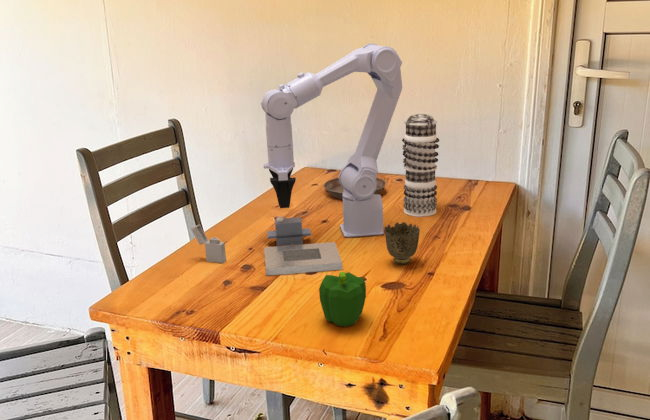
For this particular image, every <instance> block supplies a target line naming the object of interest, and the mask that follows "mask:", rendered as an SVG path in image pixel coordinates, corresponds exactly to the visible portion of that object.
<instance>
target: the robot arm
mask: <svg viewBox="0 0 650 420" xmlns="http://www.w3.org/2000/svg"><path fill="white" fill-rule="evenodd" d="M402 63H403V61H402V60H401V58H400V56H399V54H398V53H397V51H396V50H395V49H394V48H393V47H391V46H387V45H380V44H379V45H378V44H376V43H367V44H365V45H363V46H362V47H359V48H356V49H354V50H353V51H350V53H348V54H347V55H345V56H343V57H342V58H340V59H338V60H337V61H336V60H335V62H333V63H331V64H330V65H329V66H327V67H325V68H323V69H322V70H320V71H319V72H317V73H312V72H309V71H308V72H303V71H301V72H299V73H297V77H296V78H295V79H292V80H290V81H289V82H287V83H285V84H283V83H281V84H279V85H278V89H275V88H274V89H270V90H268V91H266V93H265V94H264V96H263V97H262V101H261V102H260V106H261V108H262V110H263V111H264V112H265V132H266V133H265V134H266V146H267V147H266V148H267V160H268V163H263V164H262V165H263V169H268V171H269V173H270V175H271V177H269V182H270V184H271V185H272V187H273V189H274V192H275V194H276V198H277V202H278V206H279V208H280V209H288V208H289V209H290V207H291V199H292V192H293V188H294V186H295V183H296V181H297V178H296V177H291V176H292V172H293V171H294V168H295V167H296V165H295V164H296V162H295V159H294V144H293V128H292V122H291V121H292V120H291V119H292V118H291V117H292V116H291V115H292V114H293V112H294V109H298V108H299V107H301V106H303V105H305V104H307V103H309V102H311V101H312V100H314V99H316V98H318V97H319V96H321V94H322V91H323V88H324V87H326V86H328V85H330V84H332V83H334V82H337V81H339V80H341V79H342V78H344V77H347V76H348V75H350V74H354V73H366V74H368V75H369V76H370V78H371V80H372V81H373V83H374V85H375V87H376V89H377V90H376V92H375V96H374V98H373V100H372V103H371V106H370V110H369V111H368V115H367V118H366V121H365V124H364V126H363V129H362V132H361V135H360V138H359V140H358V143H357V145H356V149H355V152H354V153H353V154H352V155H351V156H349V158H348V160H347V162H346V164H345V165H344V167H342V169H341V170H340V172H339V174H338V178H339V182H340V184H341V186H342V187H343V188H344V191H343V199H342V216H343V217H342V219H343V221H342V223H341V224H339V228H340V230H341V232H342V235H343V237H344V238H352V237H353V238H354V237H367V236H378V235H379V236H381V235H385V231H384V205H383V204H384V203H383V199H382V198H383V197H382V195H381V194H380V193H379V194H374V192H375V190H376V187H377V183H376V178H378V177H377V176H378V174H379V169H378V163H377V160H378V157H379V154H380V152H381V149H382V145H383V143H384V141H385V138H386V135H387V132H388V129H389V127H390V124H391V121H392V119H393V116H394V113H395V110H396V107H397V104H398V101H399V99H400V96H401V93H402V91H403V82H402V81H403V80H402V79H403V78H402V72H401V66H402Z"/></svg>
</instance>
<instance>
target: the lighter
mask: <svg viewBox="0 0 650 420" xmlns="http://www.w3.org/2000/svg"><path fill="white" fill-rule="evenodd" d="M191 232H192V233H193V236H194V237H195V239H196V240H197V242H198V244H199V246H201V245H203V244H204V249H205V250H204V251H205V258H206V262H211V263H218V264H223V263H225V262H226V261H227V255H226V254H227V253H226V244H225V241H221V240H220V238H218V237H210V238H209V240H208V237H207V235H206V233H205V232H204V230H203V228H202V226H201V224H200V223H198V224H197V225H194V226H193V227H191Z"/></svg>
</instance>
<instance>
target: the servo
mask: <svg viewBox="0 0 650 420" xmlns="http://www.w3.org/2000/svg"><path fill="white" fill-rule="evenodd" d="M274 225H275V230H269V231H266V236H267V240H272V239H273V240H274V239H275V242H276V246H289V245H302V244H304V242H303V237H311V236H312V233H311V228H309V227H308V228H307V227H306V228H303V221H302V217H300V216H299V217H285V218H284V217H283V216H278V217H276V218H274Z"/></svg>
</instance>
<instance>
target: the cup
mask: <svg viewBox="0 0 650 420" xmlns="http://www.w3.org/2000/svg"><path fill="white" fill-rule="evenodd" d="M383 232H384V235H385V236H384V237H385V245H386V250H387V252H388V254H389V255H390V256H391V257H393V263H395V264H396V265H398V266H405V265H406V266H407V265H409V264H410V263H411V261H412V259H411V258H412V257H414V255H415V254H416V252H417V251H418V247H419V239H420V232H421V228H420V227H419V225H417V223H416V224H414V225H413V223H409V224H408V223H407V222H405V221H402V222H401V223H399V222H395V223H394V226H391V224H387V226H384V228H383Z"/></svg>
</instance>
